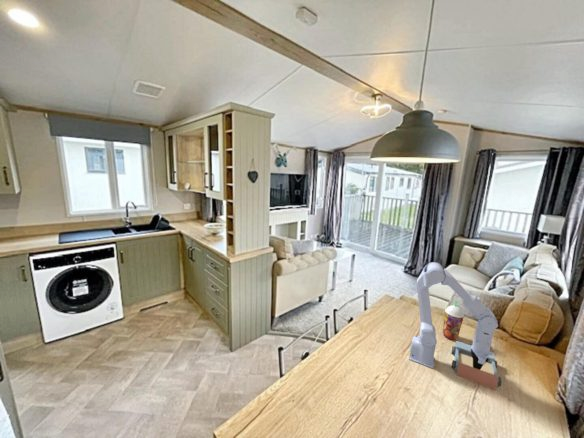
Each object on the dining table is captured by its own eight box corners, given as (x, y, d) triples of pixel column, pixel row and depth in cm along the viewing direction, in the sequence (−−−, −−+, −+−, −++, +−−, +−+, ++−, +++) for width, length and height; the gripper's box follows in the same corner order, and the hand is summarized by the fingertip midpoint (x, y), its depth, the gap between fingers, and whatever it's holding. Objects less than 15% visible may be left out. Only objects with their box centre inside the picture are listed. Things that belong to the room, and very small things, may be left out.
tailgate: (456, 374, 107) (458, 363, 106) (456, 373, 107) (458, 362, 106) (495, 390, 100) (498, 377, 99) (495, 388, 101) (498, 376, 100)
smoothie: (454, 332, 136) (460, 298, 132) (462, 343, 128) (470, 306, 124) (437, 331, 137) (443, 296, 133) (445, 341, 129) (452, 304, 125)
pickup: (451, 371, 108) (453, 361, 108) (451, 349, 123) (453, 339, 122) (500, 390, 100) (503, 378, 99) (494, 363, 115) (496, 353, 114)
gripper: (497, 353, 95) (490, 385, 98) (492, 334, 108) (486, 362, 110) (474, 346, 99) (468, 377, 101) (472, 328, 111) (466, 355, 114)
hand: (476, 369), depth 106 cm, fingers closed
